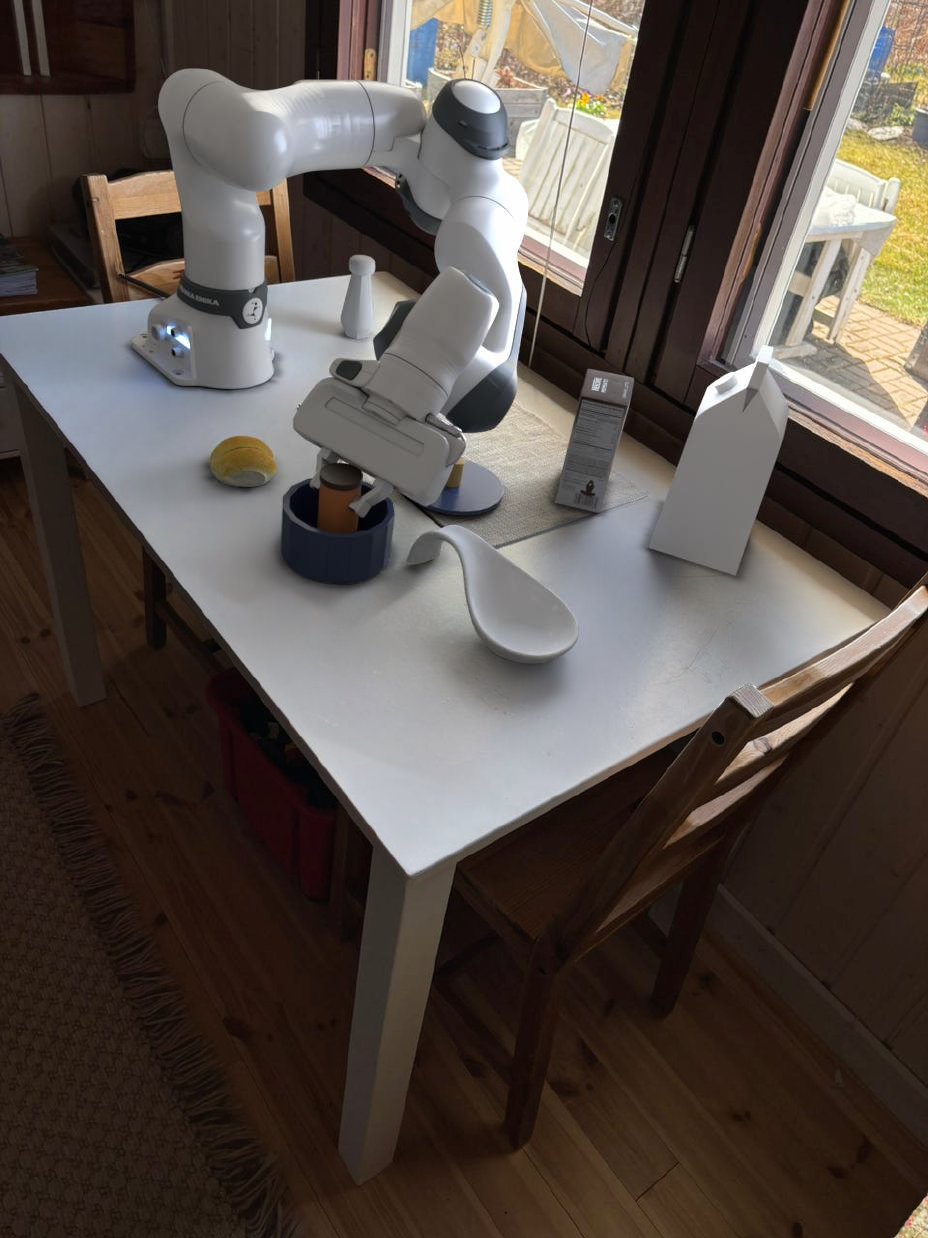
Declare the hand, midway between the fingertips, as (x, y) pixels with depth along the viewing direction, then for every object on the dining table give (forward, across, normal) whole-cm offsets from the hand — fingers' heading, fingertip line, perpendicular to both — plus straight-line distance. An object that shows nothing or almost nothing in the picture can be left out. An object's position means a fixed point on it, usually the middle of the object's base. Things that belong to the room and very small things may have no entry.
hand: (335, 501), depth 107 cm
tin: (+5, 0, -6) cm, 7 cm away
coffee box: (-21, -12, -31) cm, 39 cm away
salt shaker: (-30, +42, -40) cm, 65 cm away
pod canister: (+3, 0, -4) cm, 4 cm away
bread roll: (+2, +20, -8) cm, 22 cm away
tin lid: (-11, 0, -21) cm, 24 cm away
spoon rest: (+2, -19, -8) cm, 21 cm away
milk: (-23, -29, -33) cm, 50 cm away
